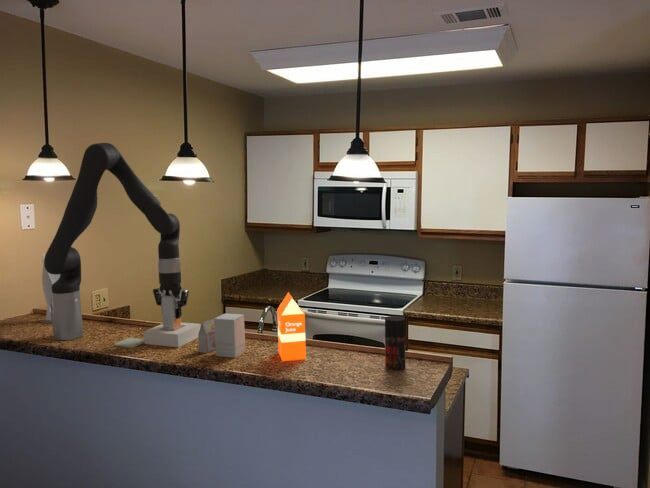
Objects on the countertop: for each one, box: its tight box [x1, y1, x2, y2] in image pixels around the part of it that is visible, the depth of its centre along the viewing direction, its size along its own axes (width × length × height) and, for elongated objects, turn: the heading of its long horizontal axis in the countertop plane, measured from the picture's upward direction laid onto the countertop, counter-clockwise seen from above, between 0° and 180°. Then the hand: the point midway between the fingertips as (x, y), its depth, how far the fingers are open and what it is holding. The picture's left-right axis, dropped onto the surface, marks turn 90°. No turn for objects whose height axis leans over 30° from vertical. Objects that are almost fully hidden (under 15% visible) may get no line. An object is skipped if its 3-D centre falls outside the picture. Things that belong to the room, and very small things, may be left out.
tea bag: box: [197, 318, 216, 354], centre depth 181 cm, size 4×7×10 cm, turn 146°
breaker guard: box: [143, 321, 201, 348], centre depth 193 cm, size 14×14×4 cm
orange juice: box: [276, 291, 307, 362], centre depth 172 cm, size 8×9×20 cm
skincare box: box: [161, 296, 182, 330], centre depth 193 cm, size 6×4×12 cm
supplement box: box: [213, 312, 247, 359], centre depth 176 cm, size 7×7×13 cm
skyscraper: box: [41, 253, 60, 325], centre depth 223 cm, size 8×8×28 cm
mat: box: [113, 337, 145, 348], centre depth 190 cm, size 8×8×1 cm
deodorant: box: [384, 315, 406, 372], centre depth 160 cm, size 6×6×15 cm
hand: (172, 317), depth 193 cm, fingers closed on skincare box, 4 cm apart
